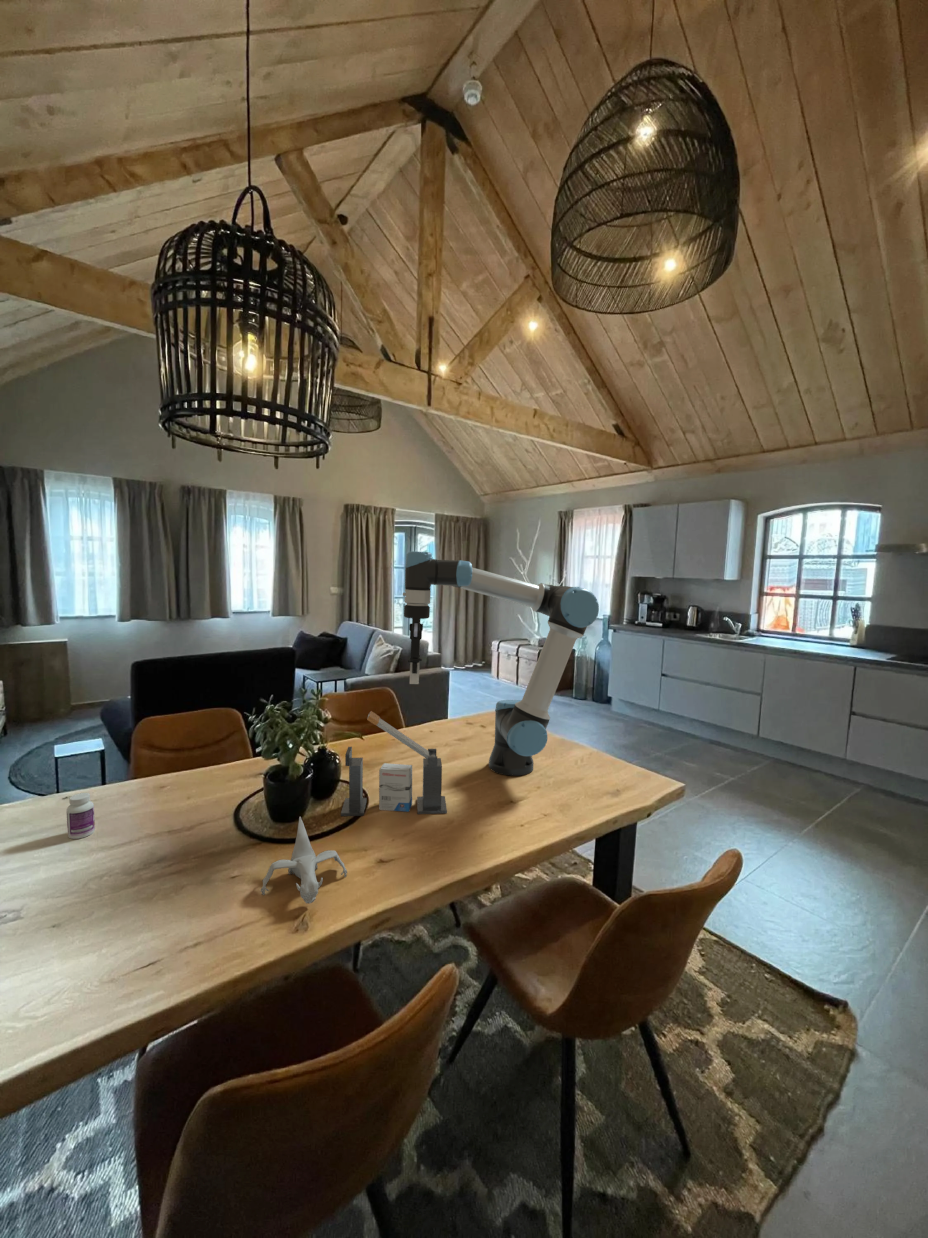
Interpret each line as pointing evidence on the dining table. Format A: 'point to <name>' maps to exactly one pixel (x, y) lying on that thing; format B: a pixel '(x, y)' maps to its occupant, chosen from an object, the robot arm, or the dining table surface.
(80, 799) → the pill bottle
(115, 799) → the dining table surface
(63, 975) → the dining table surface
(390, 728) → the white gate latch bar
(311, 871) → the dragon figurine
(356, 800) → the post
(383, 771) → the ink box
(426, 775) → the hinge post
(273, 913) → the dining table surface
